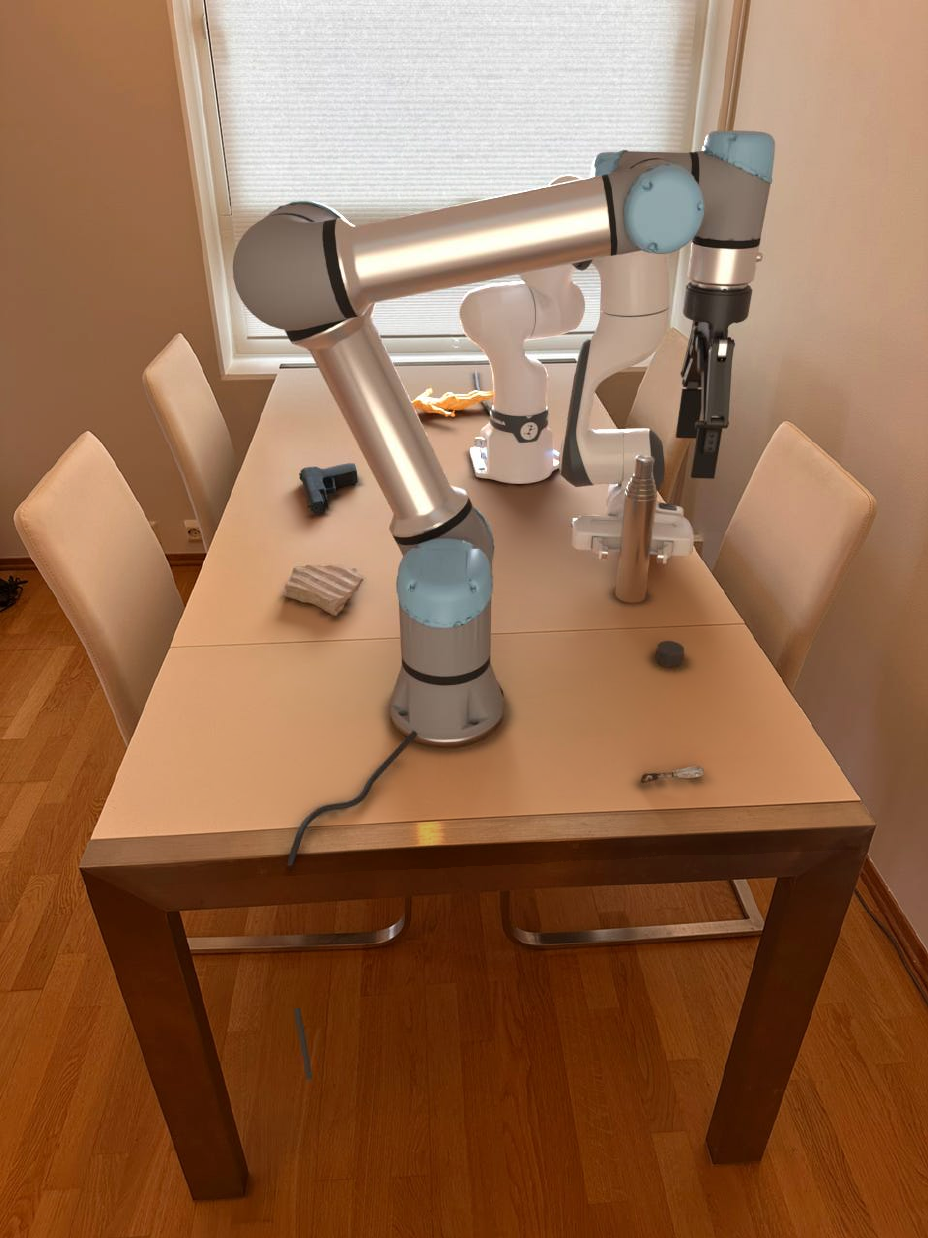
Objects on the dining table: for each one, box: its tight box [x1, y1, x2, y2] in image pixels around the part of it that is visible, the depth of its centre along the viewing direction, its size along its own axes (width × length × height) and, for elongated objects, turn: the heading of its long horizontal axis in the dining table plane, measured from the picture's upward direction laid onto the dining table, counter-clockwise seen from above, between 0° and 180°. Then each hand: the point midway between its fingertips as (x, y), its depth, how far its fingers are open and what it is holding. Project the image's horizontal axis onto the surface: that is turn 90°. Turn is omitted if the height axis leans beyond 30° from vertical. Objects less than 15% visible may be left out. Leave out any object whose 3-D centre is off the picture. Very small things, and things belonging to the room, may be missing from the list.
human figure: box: [411, 385, 493, 418], centre depth 225 cm, size 20×20×4 cm
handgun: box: [298, 462, 359, 515], centre depth 181 cm, size 3×18×12 cm
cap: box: [655, 640, 685, 669], centre depth 131 cm, size 4×4×2 cm
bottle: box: [614, 455, 658, 604], centre depth 141 cm, size 5×5×24 cm
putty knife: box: [640, 765, 705, 784], centre depth 109 cm, size 1×8×2 cm, turn 103°
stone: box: [283, 564, 364, 617], centre depth 148 cm, size 13×12×3 cm
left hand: (693, 456), depth 114 cm, fingers open, 13 cm apart
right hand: (632, 557), depth 145 cm, fingers open, 8 cm apart
